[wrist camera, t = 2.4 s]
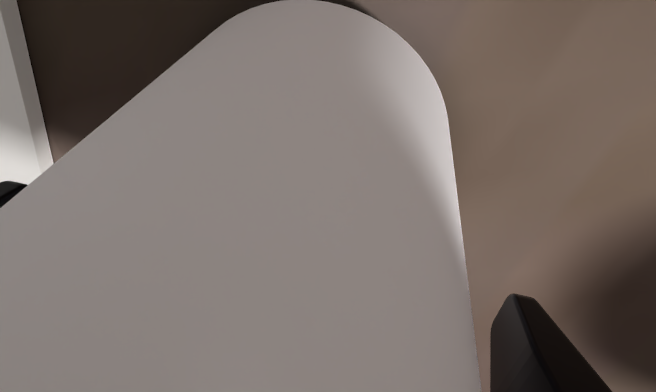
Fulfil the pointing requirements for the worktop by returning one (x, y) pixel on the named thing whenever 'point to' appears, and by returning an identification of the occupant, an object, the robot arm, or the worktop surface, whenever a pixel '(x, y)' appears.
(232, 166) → the can
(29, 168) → the dock
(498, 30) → the worktop surface
